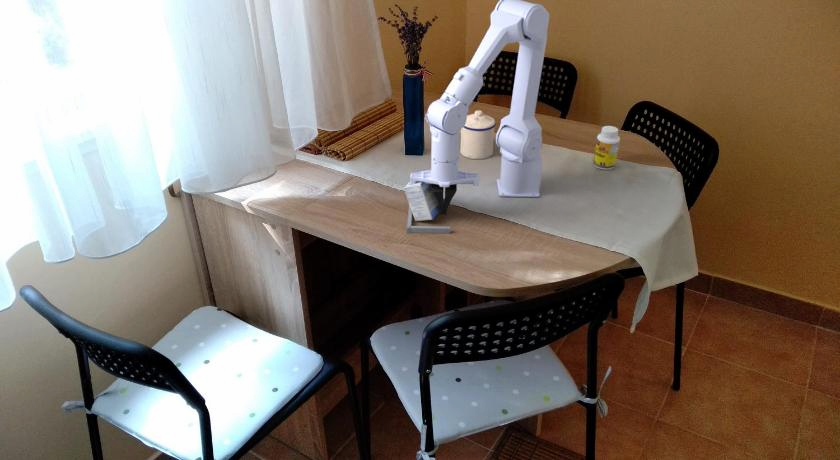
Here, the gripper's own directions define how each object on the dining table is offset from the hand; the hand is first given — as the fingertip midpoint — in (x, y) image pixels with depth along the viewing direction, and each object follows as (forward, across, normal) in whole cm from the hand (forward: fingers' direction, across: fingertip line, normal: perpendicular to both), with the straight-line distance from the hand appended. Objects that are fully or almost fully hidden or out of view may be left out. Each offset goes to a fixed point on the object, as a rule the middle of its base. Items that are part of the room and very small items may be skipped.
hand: (443, 212), depth 140 cm
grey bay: (+1, -3, 0) cm, 3 cm away
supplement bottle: (+2, +41, +26) cm, 49 cm away
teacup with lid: (+2, +8, +34) cm, 35 cm away
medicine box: (+1, -3, +1) cm, 3 cm away
